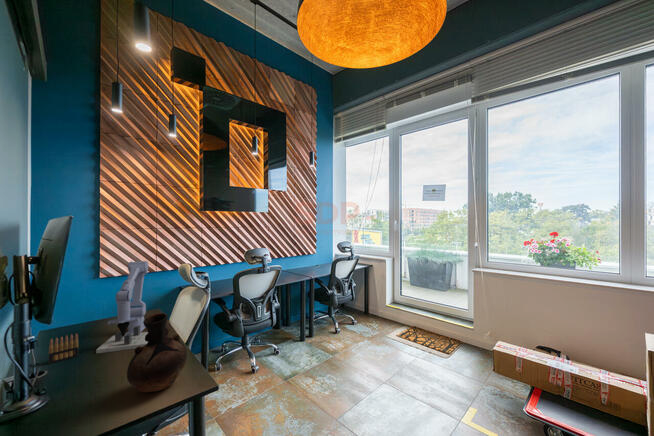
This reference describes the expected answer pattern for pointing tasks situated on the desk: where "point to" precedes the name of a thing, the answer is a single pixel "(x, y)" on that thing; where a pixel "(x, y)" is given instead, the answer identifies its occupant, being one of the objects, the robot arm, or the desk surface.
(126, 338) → the block
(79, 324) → the desk surface
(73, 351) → the ammunition clip
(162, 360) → the ceramic vessel
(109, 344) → the breaker panel
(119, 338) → the block
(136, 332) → the block
